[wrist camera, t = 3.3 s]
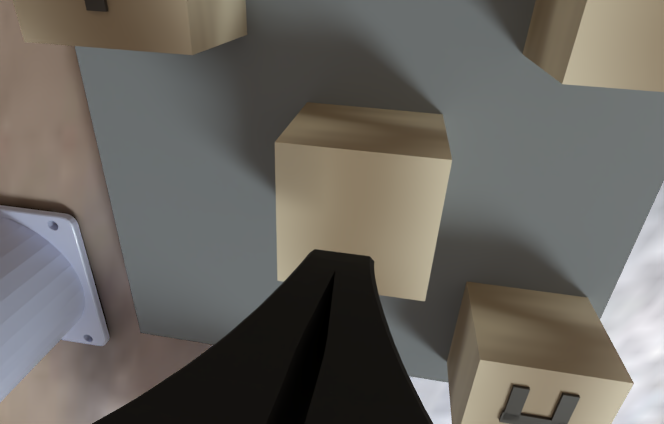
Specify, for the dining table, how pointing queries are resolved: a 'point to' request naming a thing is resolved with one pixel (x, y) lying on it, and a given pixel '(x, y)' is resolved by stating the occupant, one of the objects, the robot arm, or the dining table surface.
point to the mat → (383, 93)
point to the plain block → (363, 191)
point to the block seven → (599, 42)
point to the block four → (532, 360)
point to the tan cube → (133, 23)
